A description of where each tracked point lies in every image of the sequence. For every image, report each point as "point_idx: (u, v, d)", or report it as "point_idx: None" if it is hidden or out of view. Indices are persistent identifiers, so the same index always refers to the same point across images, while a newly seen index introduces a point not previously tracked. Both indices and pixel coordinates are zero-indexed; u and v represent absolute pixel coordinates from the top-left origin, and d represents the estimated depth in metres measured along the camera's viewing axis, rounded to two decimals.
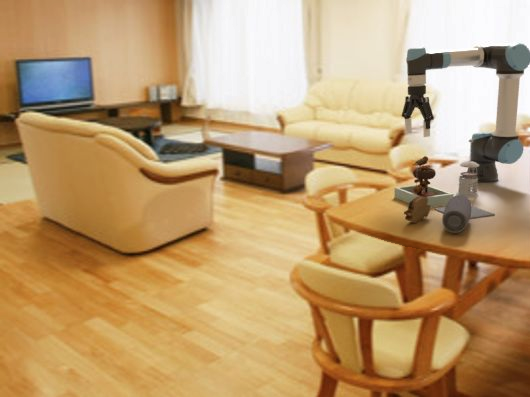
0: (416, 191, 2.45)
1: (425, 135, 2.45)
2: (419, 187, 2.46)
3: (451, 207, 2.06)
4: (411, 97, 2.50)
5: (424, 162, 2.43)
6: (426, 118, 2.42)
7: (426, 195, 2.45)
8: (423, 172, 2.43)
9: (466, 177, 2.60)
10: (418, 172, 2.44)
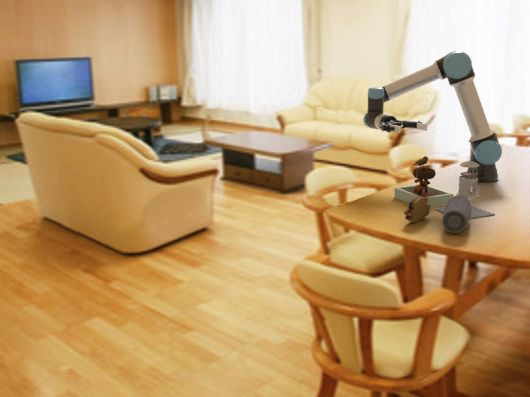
0: (416, 191, 2.45)
1: (398, 131, 2.50)
2: (419, 187, 2.46)
3: (451, 207, 2.06)
4: None
5: (424, 162, 2.43)
6: (387, 129, 2.56)
7: (426, 195, 2.45)
8: (423, 172, 2.43)
9: (466, 177, 2.60)
10: (418, 172, 2.44)
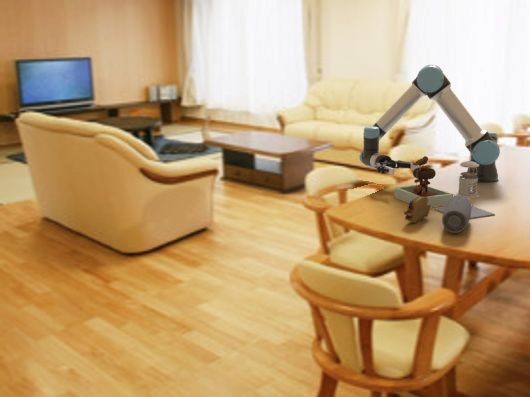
0: (416, 191, 2.45)
1: (392, 173, 2.58)
2: (419, 187, 2.46)
3: (451, 207, 2.06)
4: None
5: (424, 162, 2.43)
6: (381, 170, 2.64)
7: (426, 195, 2.45)
8: (423, 172, 2.43)
9: (466, 177, 2.60)
10: (418, 172, 2.44)
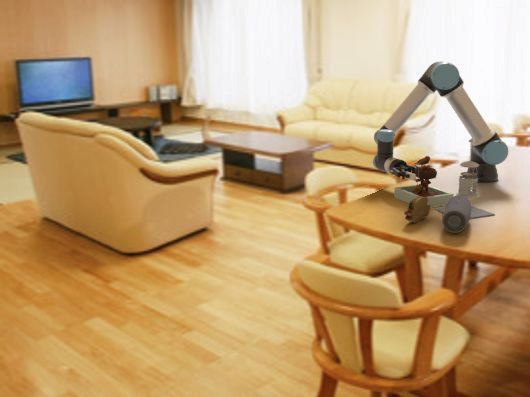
0: (417, 190, 2.44)
1: (413, 179, 2.46)
2: (420, 186, 2.46)
3: (451, 207, 2.06)
4: None
5: (426, 162, 2.42)
6: (402, 176, 2.52)
7: (426, 195, 2.45)
8: (424, 172, 2.43)
9: (466, 177, 2.60)
10: (419, 171, 2.44)
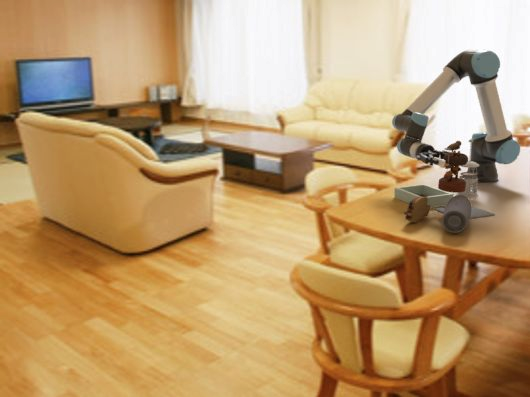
0: (446, 178, 2.28)
1: (442, 165, 2.29)
2: (449, 174, 2.29)
3: (451, 207, 2.06)
4: None
5: (457, 147, 2.25)
6: None
7: (457, 183, 2.28)
8: (455, 158, 2.26)
9: (466, 177, 2.60)
10: (450, 157, 2.27)
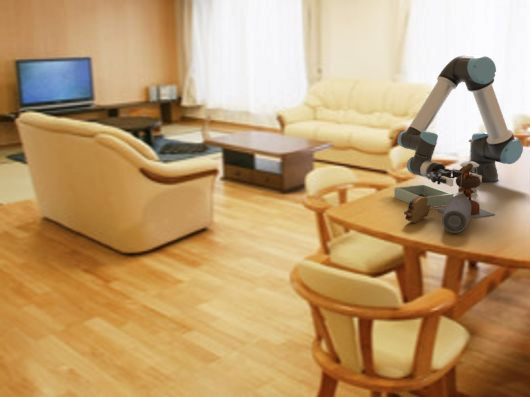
0: None
1: (450, 184, 2.27)
2: None
3: (451, 207, 2.06)
4: None
5: (469, 169, 2.24)
6: (437, 181, 2.33)
7: (471, 205, 2.26)
8: (468, 180, 2.24)
9: None
10: (462, 180, 2.26)
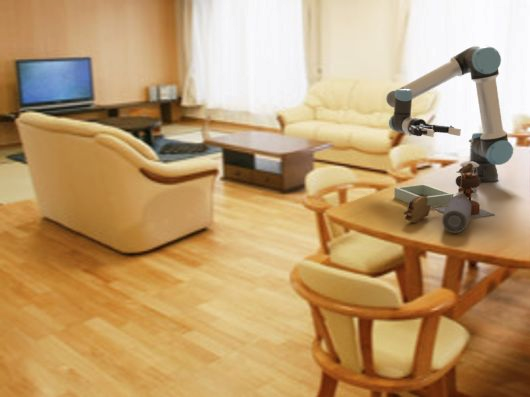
0: None
1: (431, 135, 2.36)
2: None
3: (451, 207, 2.06)
4: None
5: (469, 169, 2.24)
6: None
7: (471, 205, 2.26)
8: (468, 180, 2.25)
9: None
10: (462, 180, 2.26)
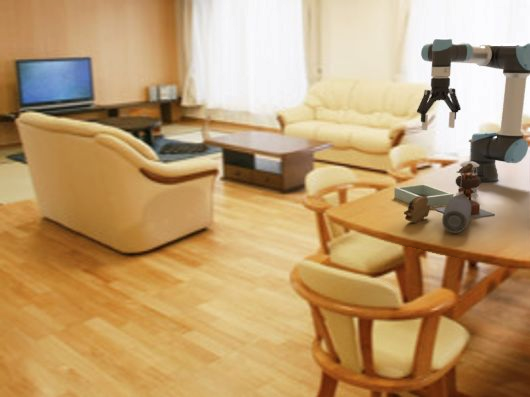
0: None
1: None
2: None
3: (451, 207, 2.06)
4: (436, 90, 2.39)
5: (469, 170, 2.24)
6: (456, 109, 2.45)
7: (471, 205, 2.26)
8: (468, 180, 2.24)
9: None
10: (462, 180, 2.26)
